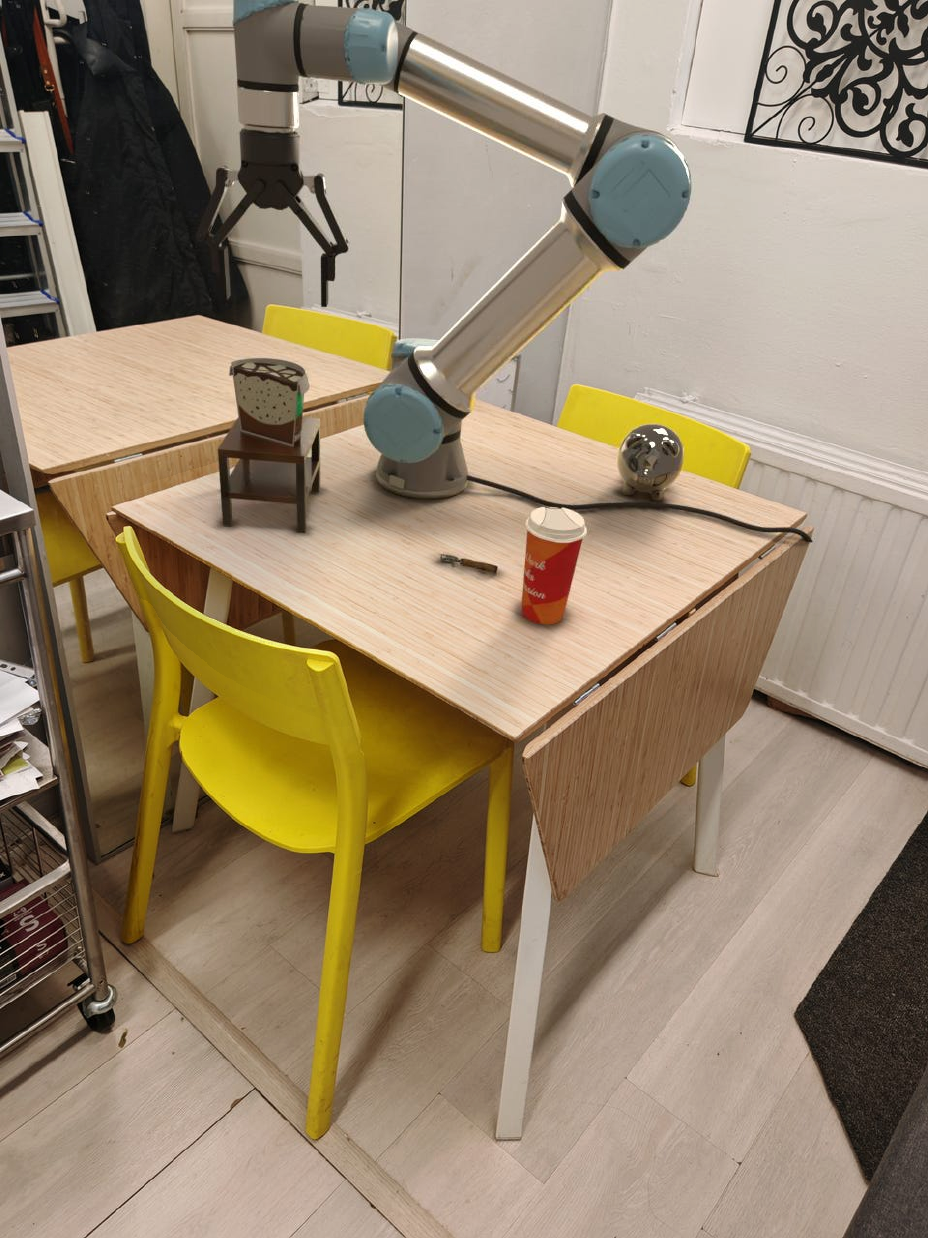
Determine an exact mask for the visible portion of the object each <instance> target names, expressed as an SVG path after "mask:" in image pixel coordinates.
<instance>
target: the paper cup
mask: <svg viewBox="0 0 928 1238" xmlns="http://www.w3.org/2000/svg"><path fill="white" fill-rule="evenodd" d="M585 524H586V521H585V519H584V517H583V516H582V514H580V513H578V512H577V511H576V510H570V509H566V508H561V509H558V507H546V506H541V507H537V508H535V509H533V510H532V511H531V512H530V514H529V516H528V517H527V519H526V521H525V523H524V525H525V528H526V540H525V543H526V544H525V554H524V565H523V566H524V567H523V568H524V569H523V579H522V591H521V592H522V594H521V614H522V616H523V617H524V618H525V619H526V620H528V621H530V622H532V623H535V624H538V625H544V626H545V625H546V626H547V625H554V624H557V623H559V622H561V621H562V620H563V618H564V615H565V611H566V607H567V604H568V600H569V596H570V592H571V588H572V584H573V579H574V576H575V571H576V568H577V564H578V560H579V556H580V551H581V547H582V543H583V539H584V538H585V537H586V535H587V532H588V531H587V526H586V525H585Z"/></svg>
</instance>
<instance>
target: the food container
mask: <svg viewBox="0 0 928 1238" xmlns="http://www.w3.org/2000/svg"><path fill="white" fill-rule="evenodd" d="M230 363H231V365H230V366H229V373H228V376H229V377H231V376H232V380H233V381H232V382H233V387H234V395H235V402H236V410H237V418H239V425H240V432H244V433H247V434H251V435H254V436H258V437H261V438H264V439H268V440H271V441H275V442H278V443H282V444H285V445H288V446H292V447H294V446H296V445H298V443H299V442H300V440H301V428H302V417H304V415H303V414H304V402H305V394H306V393H307V392H308V391H309V390H310V387H311V386H310V381H309V377H308V373H306V370H305V368H304V367H303V366H302V365H300V364H298V363H296V362H292V361H289V360H286V359H285V360H284V359H279V358H271V357H250V358H241V359H237V360H234V361H231V362H230Z"/></svg>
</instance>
